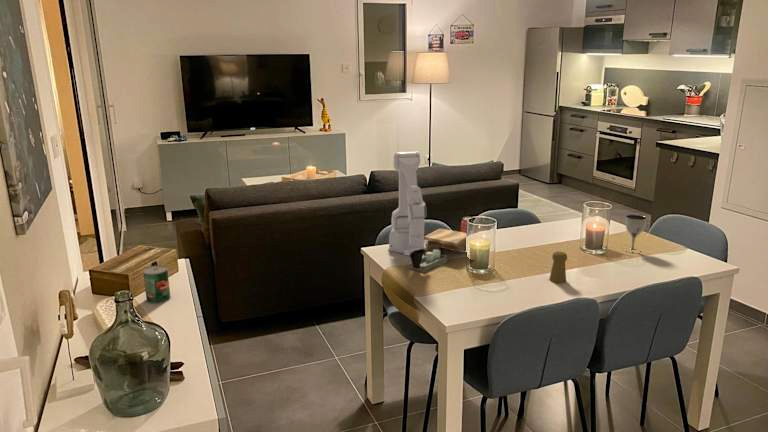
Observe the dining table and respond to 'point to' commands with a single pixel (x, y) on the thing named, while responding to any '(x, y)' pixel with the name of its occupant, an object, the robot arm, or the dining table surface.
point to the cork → (558, 268)
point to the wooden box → (445, 240)
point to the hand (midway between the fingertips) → (416, 267)
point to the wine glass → (635, 226)
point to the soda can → (464, 224)
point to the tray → (428, 266)
